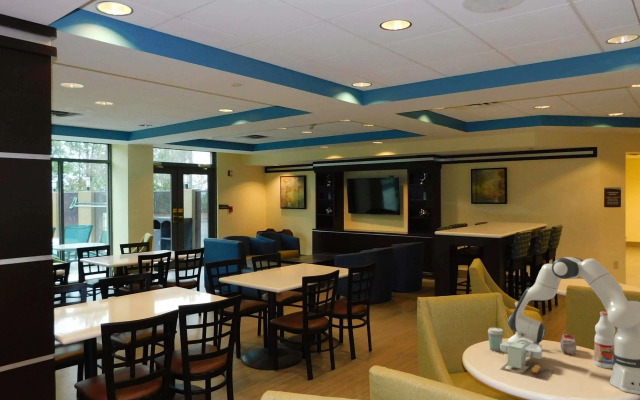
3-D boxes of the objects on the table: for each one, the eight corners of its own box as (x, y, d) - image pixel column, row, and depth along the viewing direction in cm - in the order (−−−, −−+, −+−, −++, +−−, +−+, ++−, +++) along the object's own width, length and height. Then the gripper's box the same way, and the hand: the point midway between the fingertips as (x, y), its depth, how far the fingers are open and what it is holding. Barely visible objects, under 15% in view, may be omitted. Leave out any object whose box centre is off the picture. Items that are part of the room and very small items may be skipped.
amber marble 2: (540, 370, 230) (540, 364, 230) (539, 372, 228) (539, 366, 228) (534, 369, 232) (534, 363, 232) (532, 371, 230) (532, 365, 230)
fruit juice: (603, 361, 247) (604, 309, 246) (619, 367, 238) (620, 313, 237) (589, 363, 244) (590, 310, 244) (605, 369, 235) (606, 315, 235)
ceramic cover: (525, 363, 235) (525, 344, 235) (521, 368, 229) (521, 348, 229) (512, 361, 239) (512, 341, 239) (507, 365, 233) (508, 346, 233)
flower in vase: (530, 348, 266) (531, 305, 266) (509, 347, 268) (510, 304, 268) (525, 341, 279) (525, 300, 279) (505, 340, 281) (506, 299, 281)
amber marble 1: (538, 373, 227) (538, 367, 227) (537, 374, 225) (537, 368, 225) (532, 371, 229) (532, 365, 229) (530, 373, 227) (530, 367, 227)
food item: (577, 356, 254) (577, 338, 254) (561, 354, 257) (561, 336, 257) (574, 349, 267) (575, 332, 266) (559, 347, 270) (559, 330, 270)
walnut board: (554, 372, 230) (554, 370, 230) (547, 382, 218) (547, 380, 218) (509, 362, 244) (509, 360, 244) (499, 371, 231) (499, 369, 231)
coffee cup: (500, 353, 257) (501, 332, 257) (485, 350, 262) (485, 329, 262) (505, 349, 264) (505, 329, 264) (490, 346, 269) (490, 326, 269)
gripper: (504, 337, 251) (496, 343, 240) (545, 345, 238) (538, 352, 228) (504, 348, 251) (496, 355, 241) (544, 357, 239) (538, 364, 228)
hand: (517, 353), depth 234 cm, fingers closed on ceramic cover, 6 cm apart
